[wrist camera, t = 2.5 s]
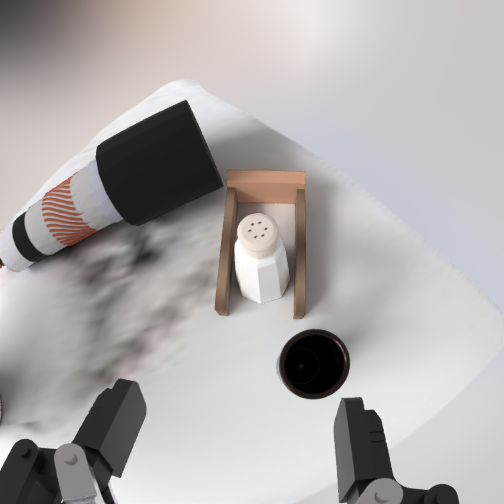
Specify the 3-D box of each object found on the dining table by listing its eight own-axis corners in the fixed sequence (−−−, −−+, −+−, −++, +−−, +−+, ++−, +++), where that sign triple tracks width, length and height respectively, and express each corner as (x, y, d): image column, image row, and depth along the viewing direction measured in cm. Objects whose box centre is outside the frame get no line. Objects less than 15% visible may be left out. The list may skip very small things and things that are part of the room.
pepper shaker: (301, 280, 31) (315, 232, 20) (259, 316, 30) (252, 285, 19) (265, 242, 32) (261, 182, 22) (224, 275, 31) (201, 227, 21)
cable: (23, 266, 39) (-15, 219, 32) (215, 164, 38) (184, 93, 31) (4, 314, 31) (-44, 263, 24) (230, 203, 30) (188, 110, 23)
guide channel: (301, 319, 29) (306, 311, 25) (219, 315, 30) (212, 307, 26) (302, 192, 34) (305, 171, 31) (232, 191, 35) (227, 170, 31)
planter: (286, 396, 26) (293, 410, 17) (269, 353, 28) (267, 344, 19) (331, 378, 27) (360, 381, 17) (313, 335, 28) (334, 317, 19)
